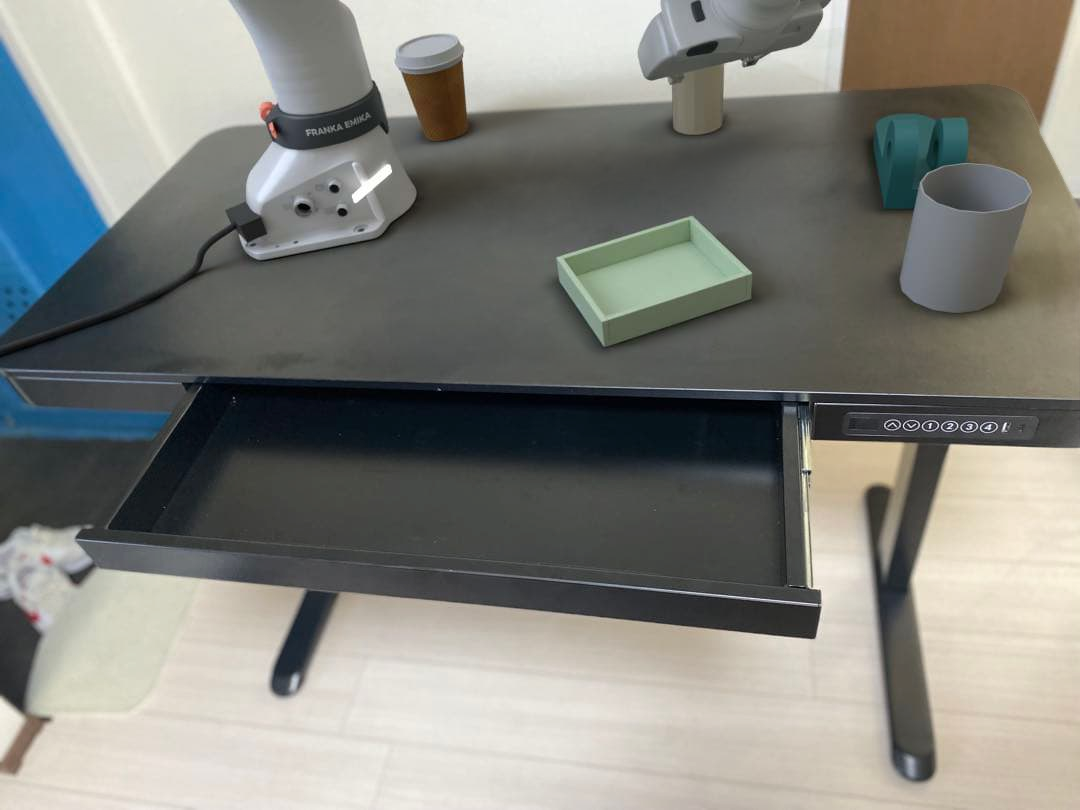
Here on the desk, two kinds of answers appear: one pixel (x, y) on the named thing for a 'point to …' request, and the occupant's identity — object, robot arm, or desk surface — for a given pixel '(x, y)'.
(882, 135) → the bracket
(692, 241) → the tray
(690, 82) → the tumbler
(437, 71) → the disposable coffee cup
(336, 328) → the desk surface
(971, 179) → the cup
